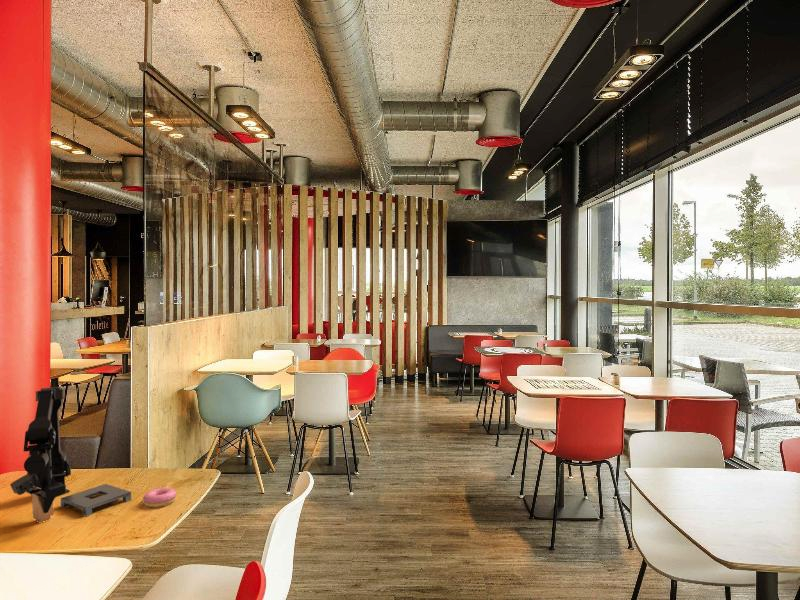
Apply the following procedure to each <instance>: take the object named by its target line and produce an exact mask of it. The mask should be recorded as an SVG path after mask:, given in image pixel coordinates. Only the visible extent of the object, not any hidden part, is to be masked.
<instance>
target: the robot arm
mask: <svg viewBox="0 0 800 600" xmlns="http://www.w3.org/2000/svg"><path fill="white" fill-rule="evenodd" d="M65 397H66V392H65V389H63V388H62V387H61V386H56V387H54V386H53V387H42V388H40V390H36V391H35V402H37V404H36V412H35V416H34V420H32V421H31V422H30V423H29V424H28V428H27V430H26V431H25V432H24V440H23V442H24V443H23V452H25V453H26V452H29V454H28V456H27V458H26V459H25V461H24V463H23V468H24V471H26V474H25V475H23V476H21V477H19V478H17V479H16V480H14V481H13V482H11V483H10V484H9V486H10V488H11V490H12V491H13V493H14V494H16V495H18V496H21V495H24V494H25V493H27V494H29V495H31V496H32V493H35V492H38V491H40V493H41V494H38V495H36V496H38V497H39V498H41V501H42V506H43V511H44V513H47V512H48V511H49V509H50V507H51V505H52V503H53V504H54V500H55V499H56V497H58V496H61V495H63V494H66V493H69V492H70V491H71V490H70V489H67V485H66V478H68V477H69V476H71V474H72V470H71V464H70V462H69V460H68V459H67V455H66V453H65V452H64V450H62V448H61V433H60V431H61V427H60V413H59V412H60V411H59V410H60V409H61V407H62V405H63V403H64V400H65V399H66V398H65Z"/></svg>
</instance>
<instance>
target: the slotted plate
mask: <svg viewBox="0 0 800 600" xmlns="http://www.w3.org/2000/svg"><path fill="white" fill-rule="evenodd" d="M100 494H101V495H100ZM98 495H100V496H98ZM94 496H98V497H94ZM92 497H94V498H92ZM120 499H122V502H124V501H125V503H127V502H129V501H130V502H131V501H132V491H130V490H127V489H124V488H120V487H117V486H114V485H111V484H107V483H104V484H100V485H97V486H95V487H91V488H88V489H85V490H82V491H79V492H76V493H72V494H70V495H67V496H64V497H60V508H63V507H65V508H68V507H70V506H73V507H74V508H75V507H76V508H79V509H80V510H82V516H84V515H85V517H88V516H87V515H89V516H91V515H93V509H94V508H96V507H99V506H102V505H105V504H108V503H111V502H114V501H117V500H120ZM67 506H68V507H67ZM90 514H91V515H90Z"/></svg>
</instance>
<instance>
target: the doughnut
mask: <svg viewBox="0 0 800 600" xmlns="http://www.w3.org/2000/svg"><path fill="white" fill-rule="evenodd" d="M176 499H177V492H176V490H175V489H173V488H170V487H158V488H154V489H151V490H149V491H147V492H146V493H145V494H144V495H143V497H142V501H143V504H144V506H146V507H148V508H160V507H162V508H163V507H164V506H165V505H166V506H168V505H170V503H171V504H172V503H173V502H175V501H176ZM166 506H165V507H166Z"/></svg>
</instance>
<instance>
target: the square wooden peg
mask: <svg viewBox="0 0 800 600" xmlns="http://www.w3.org/2000/svg"><path fill="white" fill-rule="evenodd" d="M38 494H41V493H40V491H38V492H35V493H32V495H31V498H32V500H31V501H32V518H33V519H35V522H36V521H38V522H42V523H44V522H43V521H45V522H47V521H46V520H48V521H50V520H51V516H53V515H54V502H53V503H52V505H51V507H50V509H49V511H48V512H47V513H44V511H43V506H42V501H41V498H39V497H38V496H36V495H38ZM49 519H50V520H49ZM38 522H37V523H38Z"/></svg>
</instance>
